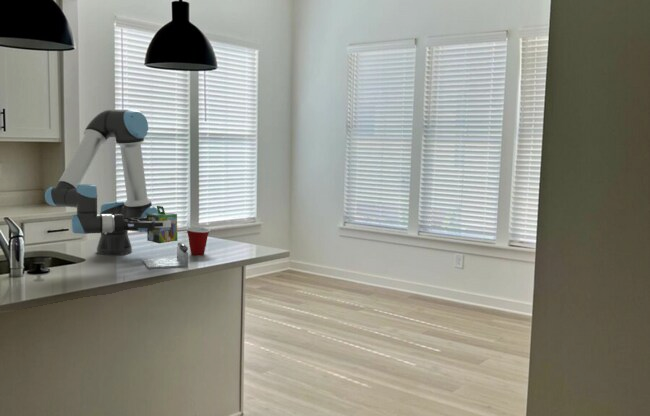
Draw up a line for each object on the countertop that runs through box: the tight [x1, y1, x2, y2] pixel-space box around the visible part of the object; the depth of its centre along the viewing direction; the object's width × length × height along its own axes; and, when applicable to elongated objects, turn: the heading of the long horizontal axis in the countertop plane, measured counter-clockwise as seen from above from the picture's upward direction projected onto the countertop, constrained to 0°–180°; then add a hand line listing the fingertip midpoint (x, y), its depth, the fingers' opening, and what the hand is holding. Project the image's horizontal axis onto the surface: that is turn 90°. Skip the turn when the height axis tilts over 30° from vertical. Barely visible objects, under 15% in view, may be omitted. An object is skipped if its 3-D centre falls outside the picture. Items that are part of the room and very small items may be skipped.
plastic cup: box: [185, 226, 211, 256], centre depth 280 cm, size 11×11×12 cm
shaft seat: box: [142, 241, 189, 270], centre depth 256 cm, size 16×16×8 cm
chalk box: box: [146, 205, 178, 244], centre depth 254 cm, size 9×9×15 cm
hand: (168, 221), depth 255 cm, fingers closed on chalk box, 11 cm apart
